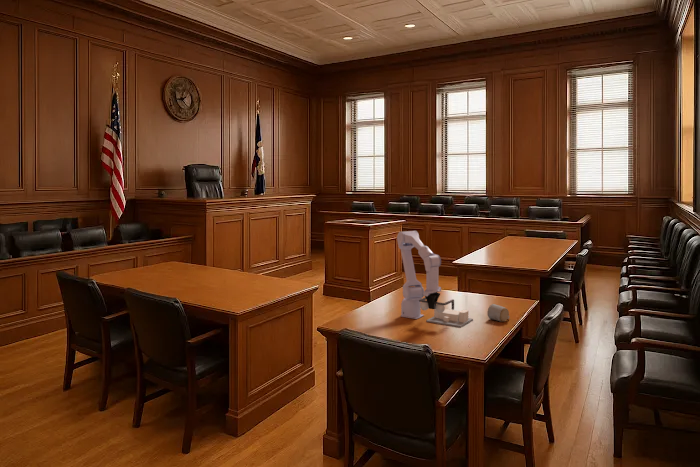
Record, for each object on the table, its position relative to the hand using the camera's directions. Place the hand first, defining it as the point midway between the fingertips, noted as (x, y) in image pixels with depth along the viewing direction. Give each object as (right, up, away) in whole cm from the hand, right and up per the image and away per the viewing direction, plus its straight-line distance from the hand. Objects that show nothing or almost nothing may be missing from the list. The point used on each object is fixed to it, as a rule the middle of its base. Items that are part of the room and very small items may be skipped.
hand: (432, 308), depth 244 cm
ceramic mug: (+35, -7, +9) cm, 37 cm away
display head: (+10, -7, +8) cm, 15 cm away
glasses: (+3, -1, +4) cm, 5 cm away
